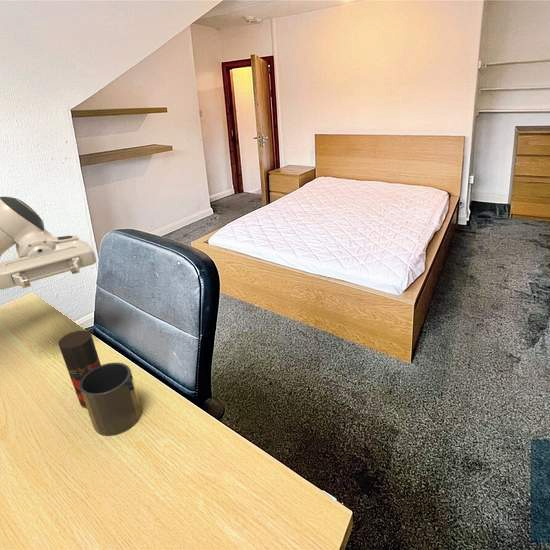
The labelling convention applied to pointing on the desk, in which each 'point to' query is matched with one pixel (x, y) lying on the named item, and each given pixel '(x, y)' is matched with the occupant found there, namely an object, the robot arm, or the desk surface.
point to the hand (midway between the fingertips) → (51, 276)
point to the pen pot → (111, 398)
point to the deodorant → (79, 357)
